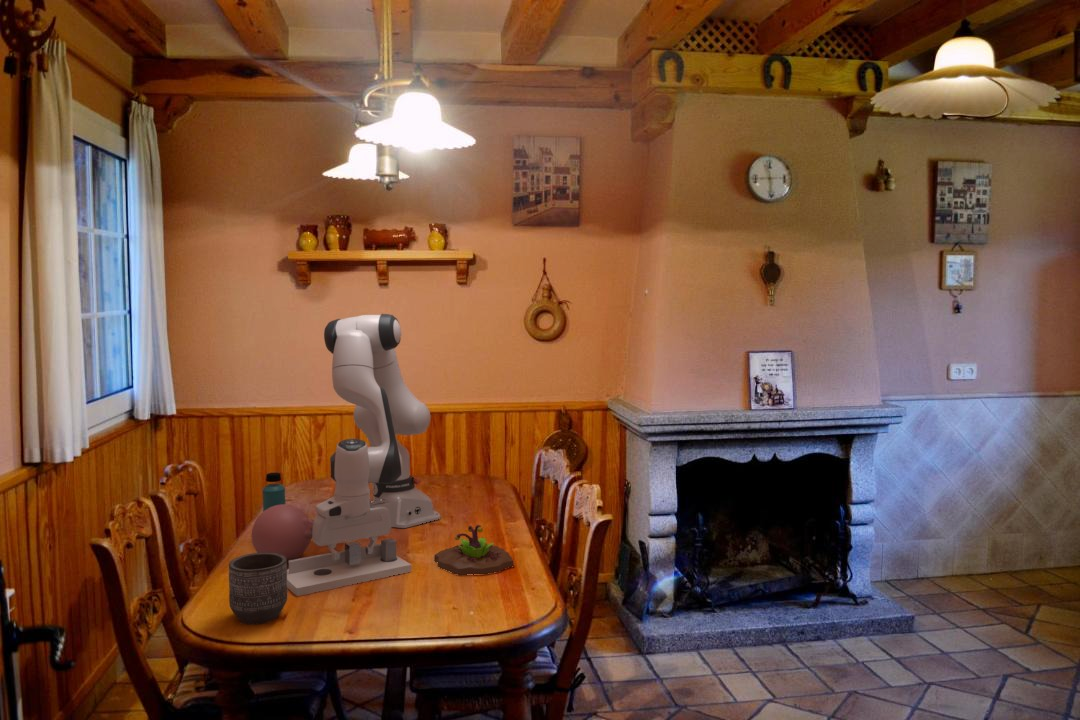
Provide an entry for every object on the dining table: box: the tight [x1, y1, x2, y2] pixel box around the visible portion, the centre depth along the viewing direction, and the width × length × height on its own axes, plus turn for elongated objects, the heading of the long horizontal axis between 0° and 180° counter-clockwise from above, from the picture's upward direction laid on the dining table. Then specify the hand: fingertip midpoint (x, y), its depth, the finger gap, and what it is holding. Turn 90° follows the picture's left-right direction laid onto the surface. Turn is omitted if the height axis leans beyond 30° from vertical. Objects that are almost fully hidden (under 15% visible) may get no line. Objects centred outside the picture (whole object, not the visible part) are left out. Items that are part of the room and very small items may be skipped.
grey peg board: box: [287, 538, 412, 597], centre depth 205 cm, size 30×14×7 cm, turn 126°
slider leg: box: [344, 540, 362, 565], centre depth 207 cm, size 3×4×5 cm, turn 36°
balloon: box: [251, 504, 314, 563], centre depth 215 cm, size 15×20×15 cm
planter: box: [228, 552, 288, 625], centre depth 178 cm, size 12×12×13 cm
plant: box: [433, 524, 514, 575], centre depth 216 cm, size 20×20×11 cm
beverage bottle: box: [262, 472, 287, 512], centre depth 232 cm, size 6×7×20 cm
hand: (352, 556), depth 206 cm, fingers open, 8 cm apart
